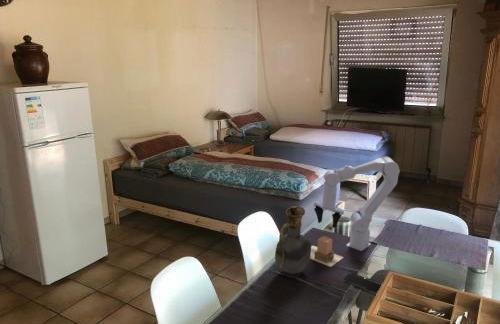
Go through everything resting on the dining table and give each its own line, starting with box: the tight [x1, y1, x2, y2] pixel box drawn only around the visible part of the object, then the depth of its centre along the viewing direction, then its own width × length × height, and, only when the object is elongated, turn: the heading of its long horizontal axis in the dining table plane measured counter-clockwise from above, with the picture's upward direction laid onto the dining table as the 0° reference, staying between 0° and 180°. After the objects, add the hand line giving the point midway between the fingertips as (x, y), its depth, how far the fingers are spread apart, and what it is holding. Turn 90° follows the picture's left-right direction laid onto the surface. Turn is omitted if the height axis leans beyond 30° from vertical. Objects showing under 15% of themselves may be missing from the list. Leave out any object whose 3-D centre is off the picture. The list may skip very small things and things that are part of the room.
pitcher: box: [274, 205, 312, 279], centre depth 159 cm, size 11×19×30 cm, turn 146°
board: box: [310, 245, 344, 268], centre depth 178 cm, size 11×16×1 cm
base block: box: [314, 250, 335, 263], centre depth 175 cm, size 6×6×3 cm
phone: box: [342, 272, 383, 295], centre depth 157 cm, size 8×1×15 cm
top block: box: [316, 235, 334, 255], centre depth 174 cm, size 4×4×6 cm
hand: (327, 224), depth 185 cm, fingers open, 7 cm apart
